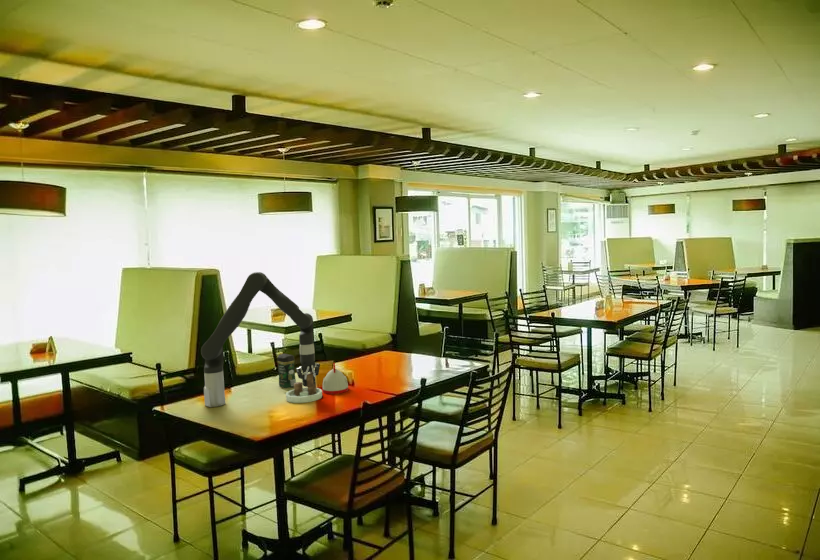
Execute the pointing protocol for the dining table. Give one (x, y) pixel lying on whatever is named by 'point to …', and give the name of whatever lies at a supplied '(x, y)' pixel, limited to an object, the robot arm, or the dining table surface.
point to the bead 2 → (312, 390)
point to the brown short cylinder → (309, 380)
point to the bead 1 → (298, 388)
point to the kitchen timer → (335, 382)
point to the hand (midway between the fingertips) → (309, 385)
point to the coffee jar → (286, 370)
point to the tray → (303, 396)
